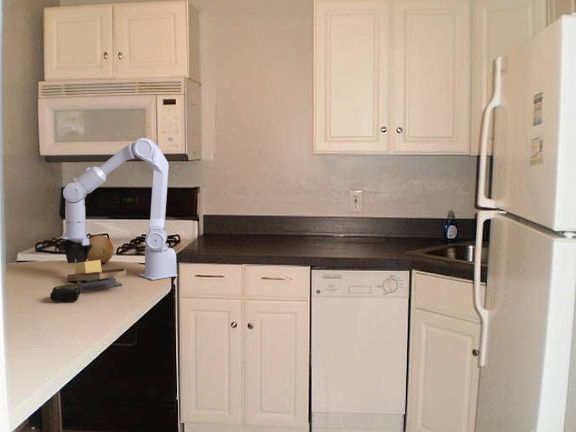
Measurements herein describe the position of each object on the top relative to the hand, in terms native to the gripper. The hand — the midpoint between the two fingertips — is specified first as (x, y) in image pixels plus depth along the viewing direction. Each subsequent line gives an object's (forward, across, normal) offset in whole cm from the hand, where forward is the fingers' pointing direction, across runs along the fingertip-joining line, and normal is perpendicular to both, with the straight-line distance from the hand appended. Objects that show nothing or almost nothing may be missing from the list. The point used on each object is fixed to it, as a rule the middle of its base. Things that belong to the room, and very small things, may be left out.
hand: (76, 264), depth 166 cm
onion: (+4, -14, +14) cm, 20 cm away
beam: (+2, +14, 0) cm, 14 cm away
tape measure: (+4, +23, -12) cm, 27 cm away
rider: (+2, +9, 0) cm, 9 cm away
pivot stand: (+4, +14, 0) cm, 15 cm away
